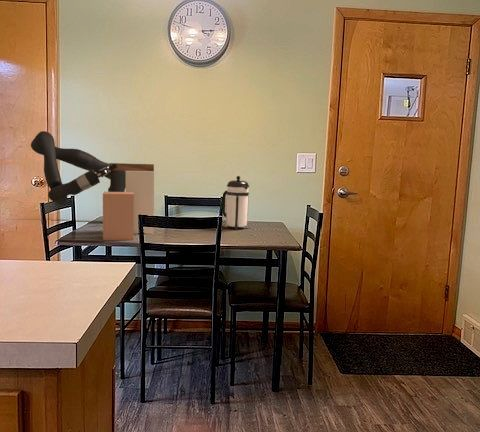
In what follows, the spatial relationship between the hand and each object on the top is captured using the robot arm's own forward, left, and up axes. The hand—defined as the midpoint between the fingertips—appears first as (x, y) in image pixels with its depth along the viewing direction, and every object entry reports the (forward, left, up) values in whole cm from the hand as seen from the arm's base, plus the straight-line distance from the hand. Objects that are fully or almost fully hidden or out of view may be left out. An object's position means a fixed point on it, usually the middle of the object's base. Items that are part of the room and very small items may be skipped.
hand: (116, 164), depth 226 cm
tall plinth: (-6, +10, -35) cm, 37 cm away
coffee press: (-43, +51, -35) cm, 75 cm away
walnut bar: (-4, +6, -3) cm, 8 cm away
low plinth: (+12, +9, -35) cm, 38 cm away
